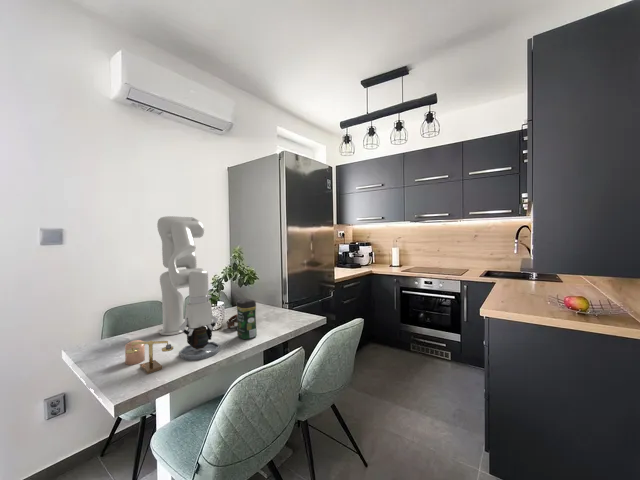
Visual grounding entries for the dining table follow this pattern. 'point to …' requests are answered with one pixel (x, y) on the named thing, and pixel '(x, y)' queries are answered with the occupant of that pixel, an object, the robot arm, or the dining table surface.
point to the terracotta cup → (137, 356)
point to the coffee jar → (246, 318)
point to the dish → (199, 351)
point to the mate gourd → (200, 337)
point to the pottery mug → (232, 321)
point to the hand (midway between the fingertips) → (199, 341)
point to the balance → (150, 356)
